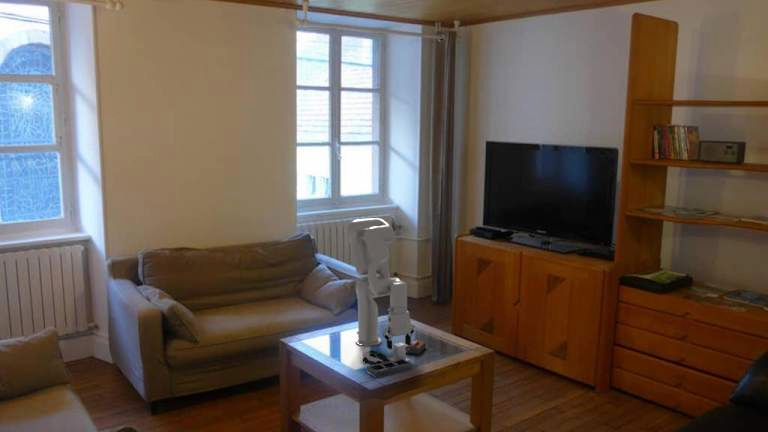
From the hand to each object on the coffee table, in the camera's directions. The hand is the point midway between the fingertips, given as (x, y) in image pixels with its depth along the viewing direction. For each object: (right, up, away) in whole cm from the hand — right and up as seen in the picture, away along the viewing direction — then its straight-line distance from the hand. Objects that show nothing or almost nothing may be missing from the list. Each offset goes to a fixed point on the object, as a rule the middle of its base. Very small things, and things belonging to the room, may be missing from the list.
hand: (398, 346), depth 302 cm
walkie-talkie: (+6, -5, +11) cm, 13 cm away
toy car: (-10, -7, -3) cm, 13 cm away
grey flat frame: (-4, -8, -12) cm, 15 cm away
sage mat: (0, -6, +1) cm, 6 cm away
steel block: (0, -6, 0) cm, 6 cm away
